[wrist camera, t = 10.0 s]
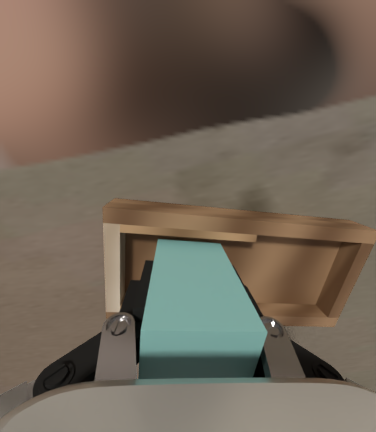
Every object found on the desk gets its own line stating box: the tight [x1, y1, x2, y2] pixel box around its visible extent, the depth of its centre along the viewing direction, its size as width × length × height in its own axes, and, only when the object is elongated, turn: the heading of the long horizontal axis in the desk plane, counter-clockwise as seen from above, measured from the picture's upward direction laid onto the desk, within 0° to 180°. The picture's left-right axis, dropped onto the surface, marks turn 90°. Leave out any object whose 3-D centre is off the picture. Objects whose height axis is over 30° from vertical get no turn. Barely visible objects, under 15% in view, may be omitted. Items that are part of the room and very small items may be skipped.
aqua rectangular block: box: [139, 239, 268, 379], centre depth 10 cm, size 4×4×7 cm
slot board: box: [103, 198, 376, 327], centre depth 14 cm, size 19×9×2 cm, turn 83°
